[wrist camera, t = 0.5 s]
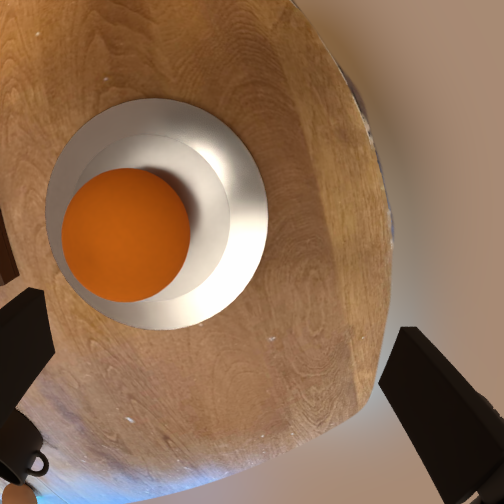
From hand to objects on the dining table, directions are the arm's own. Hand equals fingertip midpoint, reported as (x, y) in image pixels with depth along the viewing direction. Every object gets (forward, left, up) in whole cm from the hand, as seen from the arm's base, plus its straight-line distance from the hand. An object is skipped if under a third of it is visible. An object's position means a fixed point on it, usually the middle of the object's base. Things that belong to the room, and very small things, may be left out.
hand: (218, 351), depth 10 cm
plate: (+4, -5, -14) cm, 15 cm away
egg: (+68, +21, -14) cm, 73 cm away
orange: (+4, -5, -9) cm, 11 cm away
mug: (+41, +7, -14) cm, 44 cm away
